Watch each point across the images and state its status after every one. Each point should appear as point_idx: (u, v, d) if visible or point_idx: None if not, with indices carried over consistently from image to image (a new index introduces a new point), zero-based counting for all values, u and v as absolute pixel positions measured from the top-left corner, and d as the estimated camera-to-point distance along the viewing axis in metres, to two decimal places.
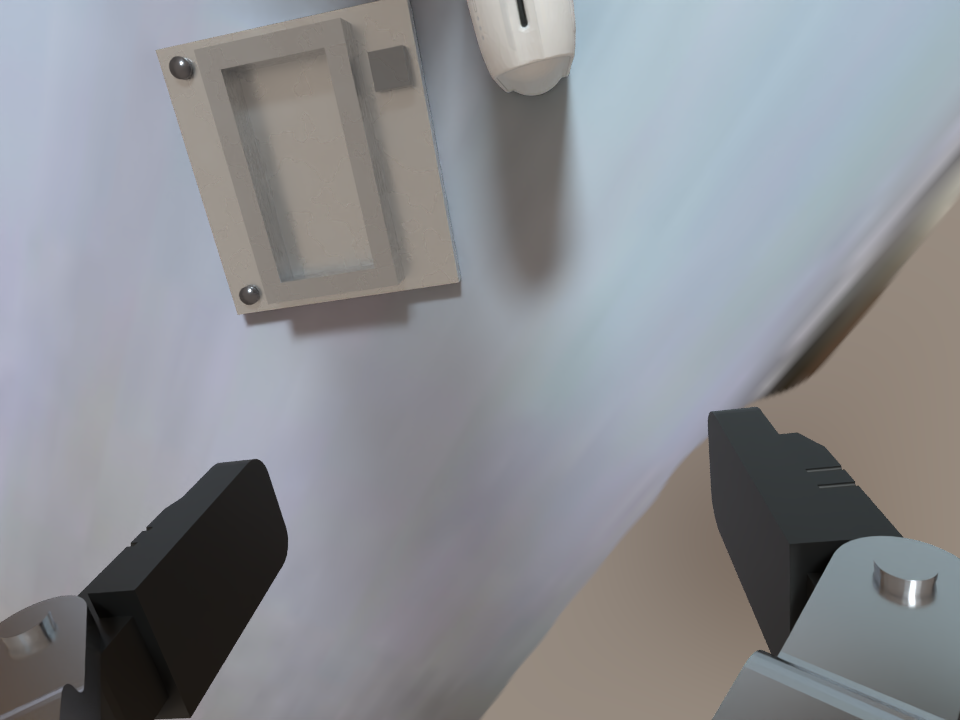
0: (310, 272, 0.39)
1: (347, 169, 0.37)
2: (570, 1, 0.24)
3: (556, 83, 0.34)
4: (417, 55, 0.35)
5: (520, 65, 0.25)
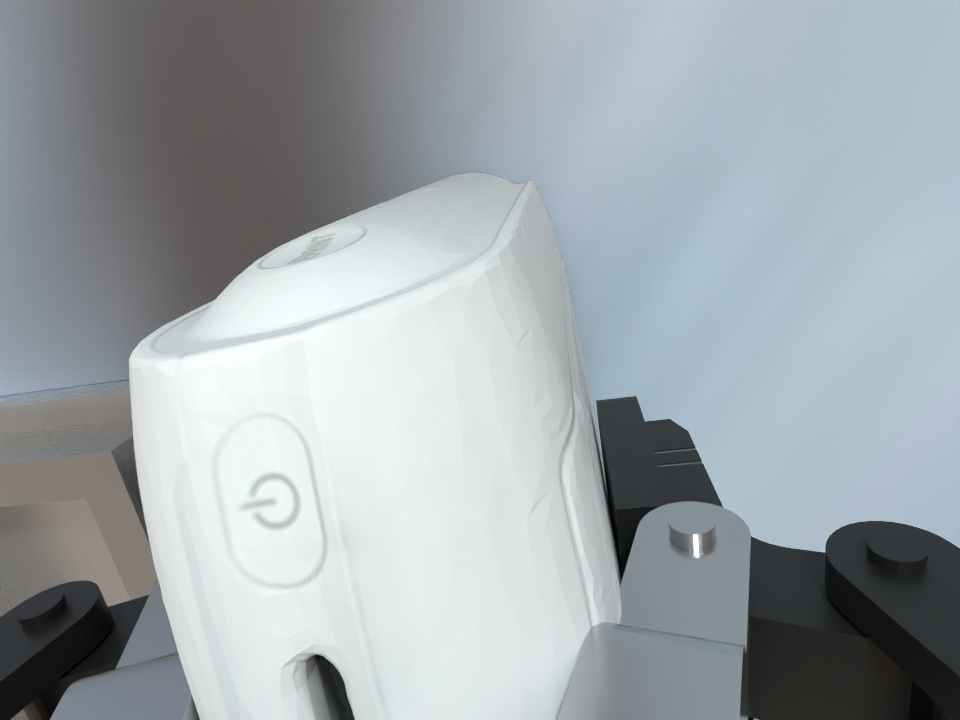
0: None
1: None
2: None
3: None
4: None
5: None
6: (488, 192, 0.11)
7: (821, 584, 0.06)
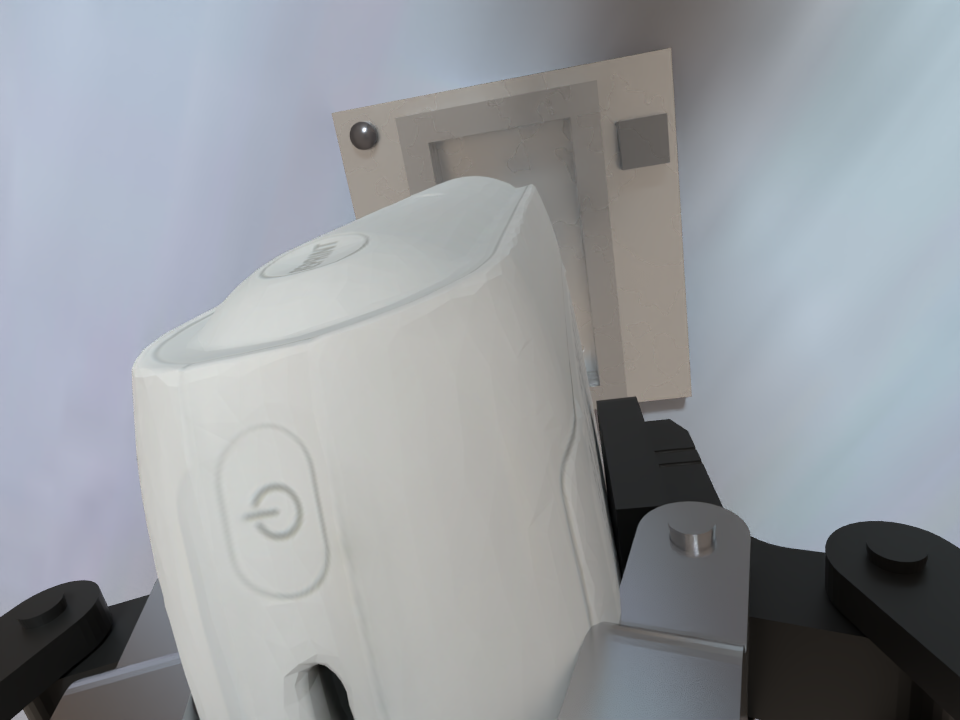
0: None
1: (565, 261, 0.29)
2: None
3: None
4: None
5: None
6: (489, 197, 0.11)
7: (821, 584, 0.06)
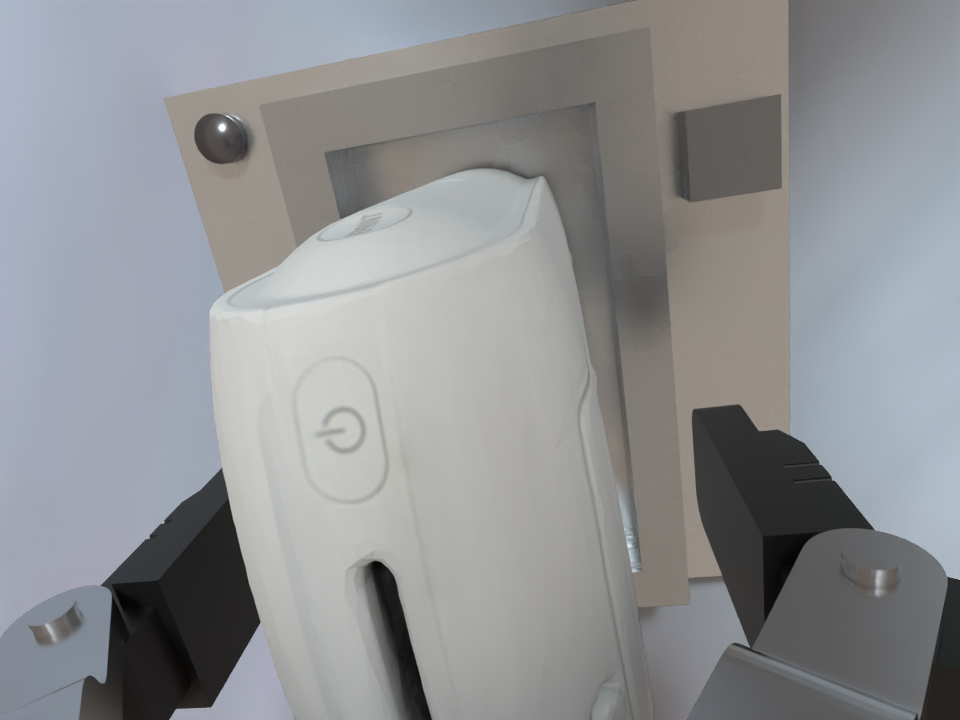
0: None
1: None
2: None
3: None
4: None
5: None
6: (505, 184, 0.12)
7: None
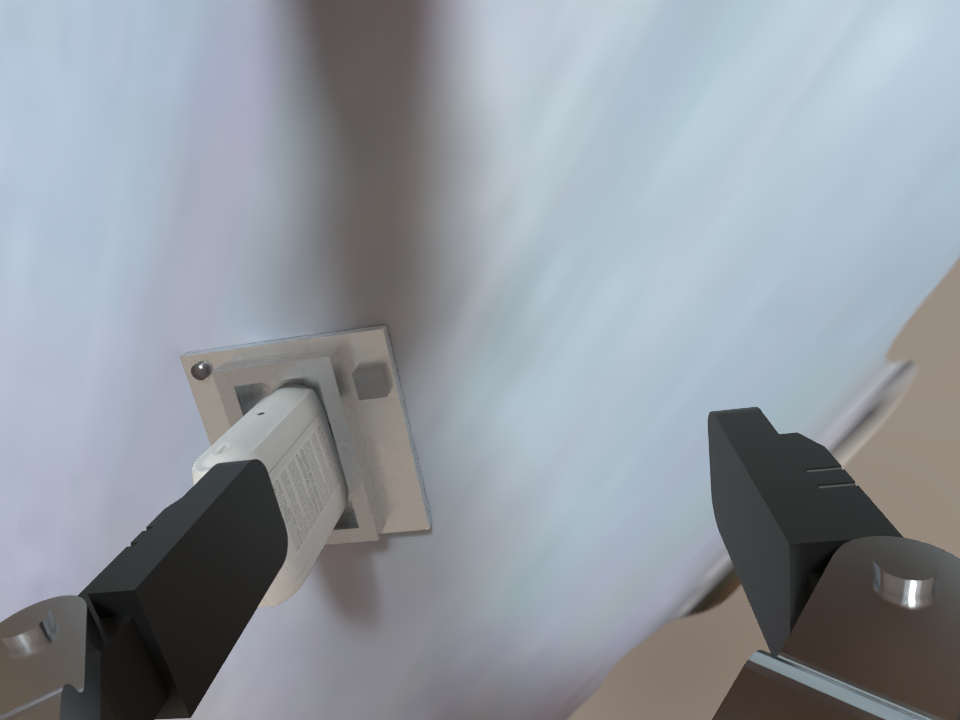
0: None
1: (336, 446, 0.45)
2: (290, 569, 0.36)
3: None
4: (393, 369, 0.43)
5: (257, 607, 0.36)
6: (281, 408, 0.40)
7: None
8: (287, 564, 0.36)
